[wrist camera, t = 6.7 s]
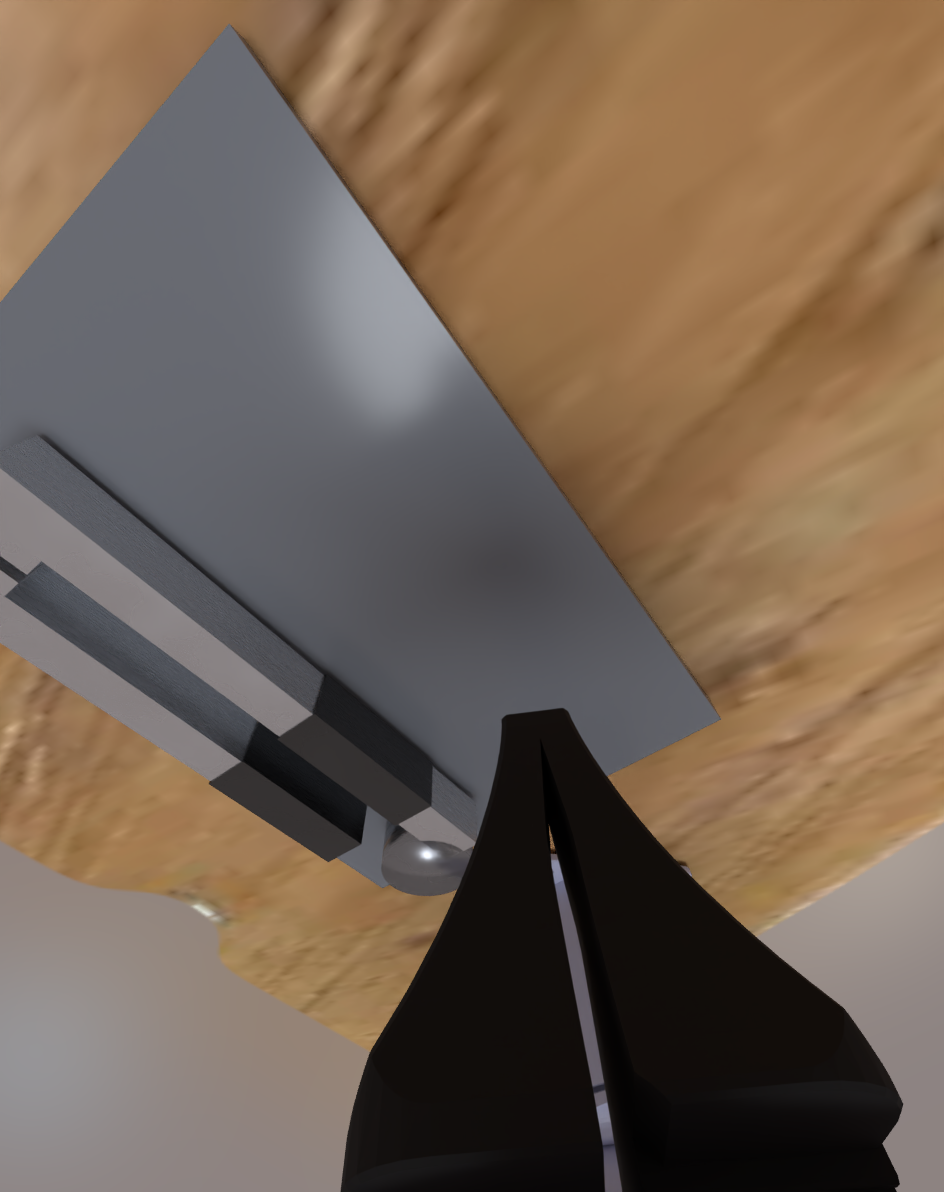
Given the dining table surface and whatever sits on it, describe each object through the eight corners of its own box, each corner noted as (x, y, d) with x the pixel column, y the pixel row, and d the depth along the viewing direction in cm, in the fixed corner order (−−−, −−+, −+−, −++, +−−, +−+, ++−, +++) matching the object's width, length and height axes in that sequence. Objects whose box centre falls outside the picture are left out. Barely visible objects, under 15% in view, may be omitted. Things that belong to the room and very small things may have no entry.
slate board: (711, 702, 23) (721, 719, 23) (384, 869, 29) (382, 888, 28) (244, 39, 12) (229, 23, 12) (-146, 503, 18) (-176, 516, 17)
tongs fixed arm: (379, 788, 24) (372, 838, 22) (338, 811, 25) (328, 862, 23) (-7, 487, 17) (-71, 520, 15) (-50, 533, 17) (-118, 570, 15)
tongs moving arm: (503, 822, 25) (507, 866, 23) (423, 862, 26) (421, 907, 25) (40, 432, 16) (-14, 455, 14) (-47, 527, 17) (-106, 559, 15)
